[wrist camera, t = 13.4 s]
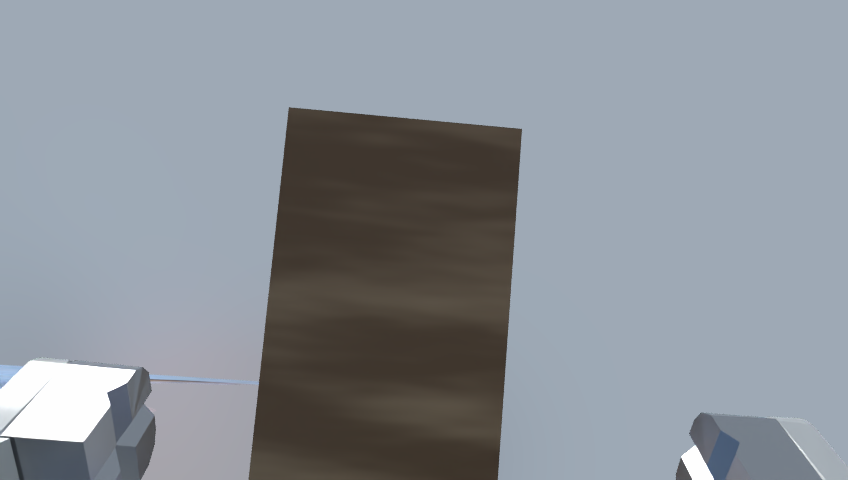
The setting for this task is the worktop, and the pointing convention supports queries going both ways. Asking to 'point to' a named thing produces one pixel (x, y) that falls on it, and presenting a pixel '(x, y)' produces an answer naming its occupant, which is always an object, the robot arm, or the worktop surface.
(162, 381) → the worktop surface
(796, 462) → the robot arm
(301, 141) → the walnut stand
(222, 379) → the worktop surface
